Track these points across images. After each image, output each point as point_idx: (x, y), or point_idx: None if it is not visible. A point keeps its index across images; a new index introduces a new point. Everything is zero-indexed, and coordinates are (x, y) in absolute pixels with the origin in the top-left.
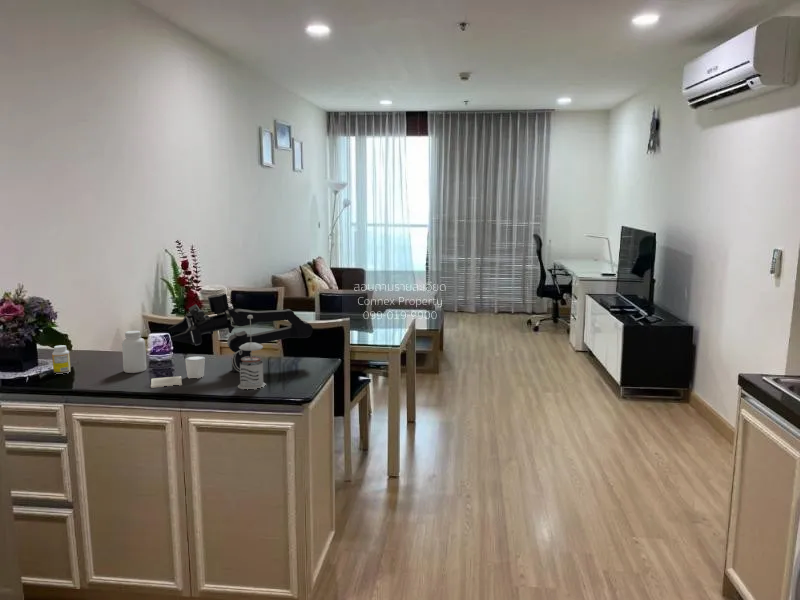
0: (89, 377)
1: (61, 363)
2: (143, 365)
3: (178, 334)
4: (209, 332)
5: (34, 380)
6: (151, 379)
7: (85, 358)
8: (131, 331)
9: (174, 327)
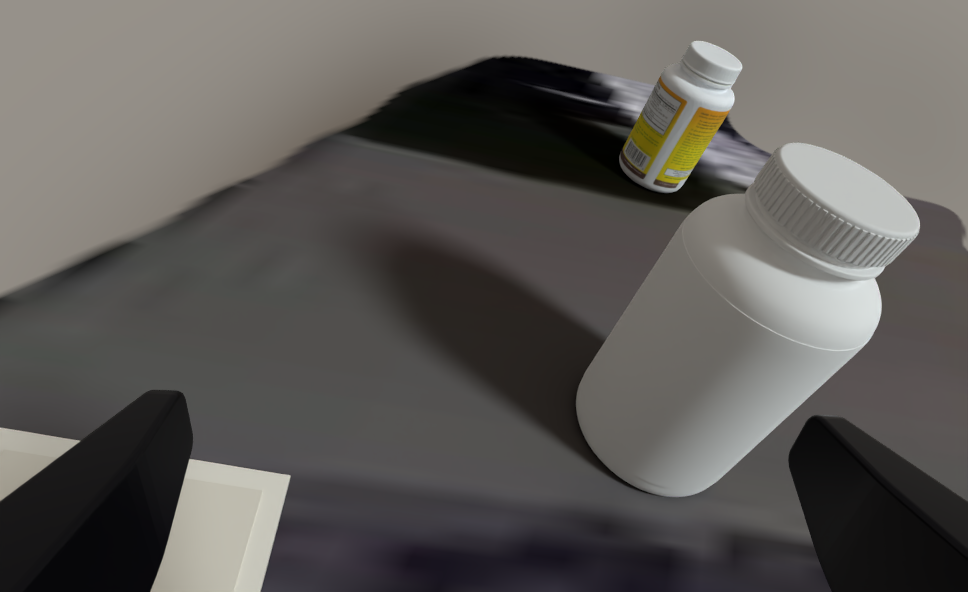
0: (541, 221)
1: (643, 120)
2: (631, 447)
3: (7, 558)
4: None
5: (552, 102)
6: (258, 471)
7: (905, 283)
8: (866, 184)
9: (898, 542)
